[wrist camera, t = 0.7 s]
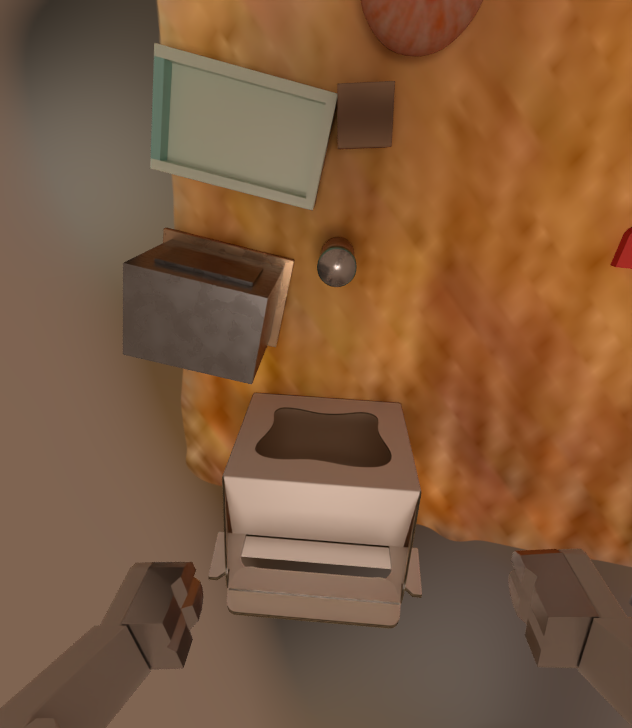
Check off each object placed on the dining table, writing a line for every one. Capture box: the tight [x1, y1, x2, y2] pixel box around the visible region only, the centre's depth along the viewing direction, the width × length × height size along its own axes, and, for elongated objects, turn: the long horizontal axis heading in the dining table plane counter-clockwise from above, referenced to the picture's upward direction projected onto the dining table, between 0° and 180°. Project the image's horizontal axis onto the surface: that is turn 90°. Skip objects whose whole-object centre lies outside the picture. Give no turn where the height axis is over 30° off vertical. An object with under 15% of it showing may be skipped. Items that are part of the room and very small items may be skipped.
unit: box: [123, 228, 294, 384], centre depth 46 cm, size 12×16×13 cm
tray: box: [150, 43, 338, 210], centre depth 42 cm, size 11×18×3 cm, turn 77°
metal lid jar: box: [317, 237, 356, 287], centre depth 46 cm, size 4×4×7 cm
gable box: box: [208, 393, 422, 628], centre depth 49 cm, size 22×13×28 cm, turn 87°
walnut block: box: [338, 81, 395, 149], centre depth 39 cm, size 5×5×7 cm
